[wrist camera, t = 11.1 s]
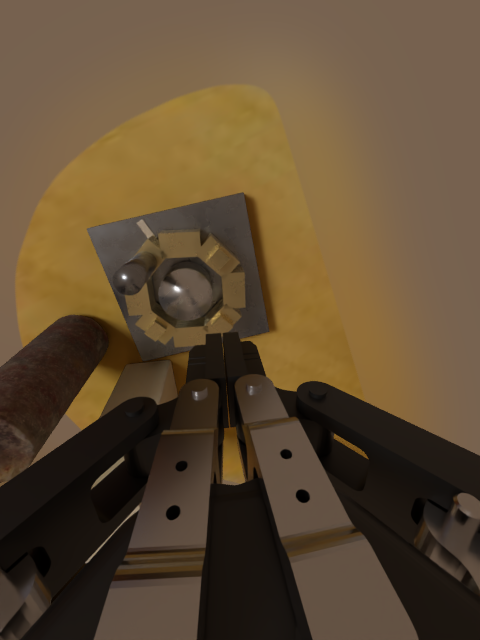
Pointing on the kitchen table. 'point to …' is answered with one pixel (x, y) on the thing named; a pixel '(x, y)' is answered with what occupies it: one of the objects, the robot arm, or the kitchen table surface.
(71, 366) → the candle
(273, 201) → the kitchen table surface
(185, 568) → the robot arm
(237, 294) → the tan block ring
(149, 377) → the light grey tall block
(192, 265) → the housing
